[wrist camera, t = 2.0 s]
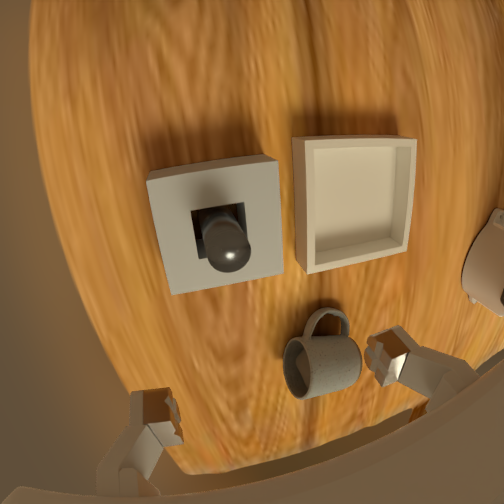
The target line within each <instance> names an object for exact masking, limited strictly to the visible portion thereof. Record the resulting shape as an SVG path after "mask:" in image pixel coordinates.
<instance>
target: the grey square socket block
mask: <svg viewBox="0 0 504 504" xmlns="http://www.w3.org/2000/svg"><path fill="white" fill-rule="evenodd" d="M146 184H147V190H148V195H149V200H150V205H151V210H152V215H153V220H154V224H155V229H156V234H157V238H158V242H159V247H160V251H161V255H162V259H163V264H164V268H165V272H166V276H167V279H168V283H169V287H170V291H171V295H175V294H181V293H186V292H192V291H197V290H202V289H208V288H213V287H218V286H223V285H228V284H234V283H239V282H244V281H249V280H254V279H259V278H264V277H269V276H274V275H278V274H283V273H284V272H283V246H282V223H281V203H280V184H279V167H278V160H275V159H273V158H271V157H269V156H267V155H265V154H259V155H250V156H242V157H234V158H226V159H219V160H212V161H206V162H199V163H193V164H187V165H181V166H175V167H170V168H164V169H159V170H154V171H150V173H149V175H148V177H147V180H146ZM233 203H236V205H237V214H238V224H239V225H240V227H241V229H242V231H243V232H244V234H245V236H246V238H247V240H248V241H249V243H250V246H251V256H250V259H249V261H248V262H247V264H246V265H245V266H244V267H243V268H241V269H240V270H238V271H235V272H231V273H223V272H220V271H217V270H216V269H214V268H213V267H212V266H211V265H210V263H209V261H208V258H207V254H206V249H205V245H204V241H203V239H198V240H195V235H194V229H193V223H192V217H191V211H192V210H197V209H203V208H209V207H215V206H221V205H227V204H233Z"/></svg>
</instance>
